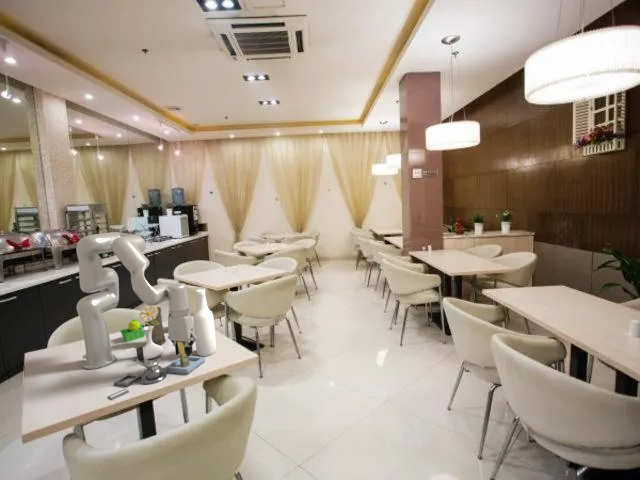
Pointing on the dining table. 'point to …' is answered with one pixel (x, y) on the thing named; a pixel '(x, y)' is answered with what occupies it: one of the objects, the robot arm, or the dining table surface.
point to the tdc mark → (118, 394)
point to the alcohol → (204, 326)
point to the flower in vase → (150, 348)
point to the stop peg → (183, 354)
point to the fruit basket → (133, 331)
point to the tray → (177, 368)
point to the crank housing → (149, 378)
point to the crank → (145, 360)
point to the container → (157, 329)
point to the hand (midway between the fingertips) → (184, 353)
